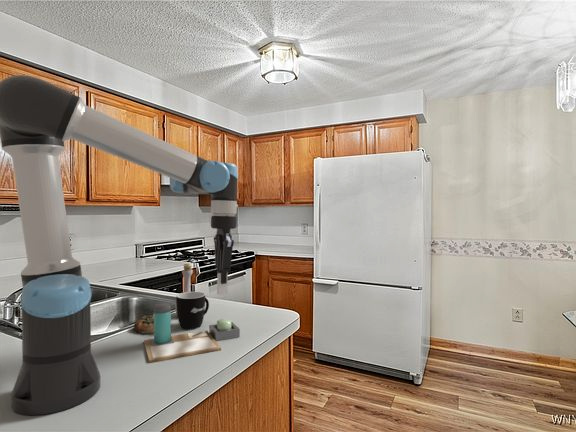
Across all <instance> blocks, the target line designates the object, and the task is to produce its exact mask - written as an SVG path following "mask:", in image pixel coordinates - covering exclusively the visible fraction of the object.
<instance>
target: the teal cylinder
mask: <svg viewBox="0 0 576 432" xmlns="http://www.w3.org/2000/svg"><path fill="white" fill-rule="evenodd" d="M153 314H154V334H153V338H154V343H157V344H163V343H167V342H169V341H171V336H172V330H171V327H172V325H171V324H172V304H171V303H169V302H161V303H156V304H154V305H153Z"/></svg>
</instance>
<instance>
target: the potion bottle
mask: <svg viewBox="0 0 576 432" xmlns="http://www.w3.org/2000/svg"><path fill="white" fill-rule="evenodd" d="M193 271H194V270H193V269H192V265H191V264H189V263H184V264H183V269H181V274H182V276H183V283H184V284H183V290H184V291H183V293H185V292H191V277H192V276H193V273H194V272H193ZM174 308H175V312H176V314H177V305H176V301H175V303H174Z"/></svg>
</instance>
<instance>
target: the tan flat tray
mask: <svg viewBox="0 0 576 432" xmlns="http://www.w3.org/2000/svg"><path fill="white" fill-rule="evenodd" d="M143 344H144V348H145V351H146V352H145V353H146V355H147V358H148V359H147V360H148V363H149V364H150V363H155V362H156V363H157V362H161V361H162V362H163V361H167V360H173V359H178V357H179V358H185V357H189V356H190V355H191V356H195V355H200V354H201V355H202V354H206V353H211V352H218V351H221V350H222V347H221V345H220V344H219V343H218V341H215V340H214V338H213V337H212V336H211V335H210V333H209V331H208V329H207V330H201V331H194V332H188V333H181V334H175V335H171V341H169V342H167V343H163V344H157V343H154V337H152V338H148V339H146V338H145V339H143ZM184 356H185V357H184Z"/></svg>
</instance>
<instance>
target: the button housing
mask: <svg viewBox="0 0 576 432" xmlns="http://www.w3.org/2000/svg"><path fill="white" fill-rule="evenodd" d="M208 327H209V328H208V329H209V331H208V332H209V333H210V335H211V336H212V337H213V338H214V340H215V341H216V342H218V340H219V341H224V340H230V339H236V338H241V336H240V334H241V333H240V332H241V331H240V328H239V327H238V326H237V325H236V324H235V323H234V322H233V321H231V329H229V330H222V331H218V330H217V323H215V324H209V325H208Z"/></svg>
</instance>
